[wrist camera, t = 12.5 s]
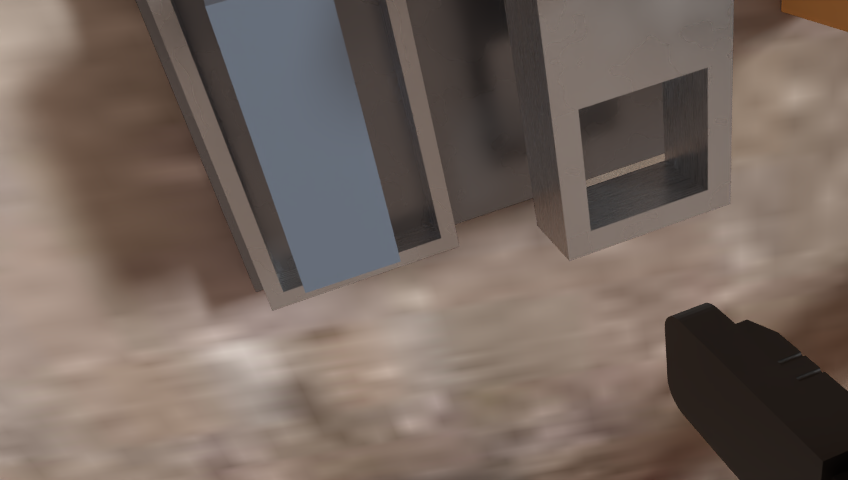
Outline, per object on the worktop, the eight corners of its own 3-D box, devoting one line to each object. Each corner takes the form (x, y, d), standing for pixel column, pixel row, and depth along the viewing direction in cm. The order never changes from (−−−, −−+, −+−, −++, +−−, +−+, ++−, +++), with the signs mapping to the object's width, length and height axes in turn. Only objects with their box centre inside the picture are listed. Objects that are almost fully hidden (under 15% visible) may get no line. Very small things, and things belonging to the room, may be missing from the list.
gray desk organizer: (657, 147, 36) (893, 304, 24) (255, 283, 33) (299, 536, 21) (640, -253, 27) (997, -315, 15) (93, -113, 24) (13, -58, 12)
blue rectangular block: (297, -55, 26) (326, -27, 21) (364, 191, 31) (400, 261, 26) (199, -29, 25) (205, 6, 20) (284, 216, 31) (305, 293, 26)
